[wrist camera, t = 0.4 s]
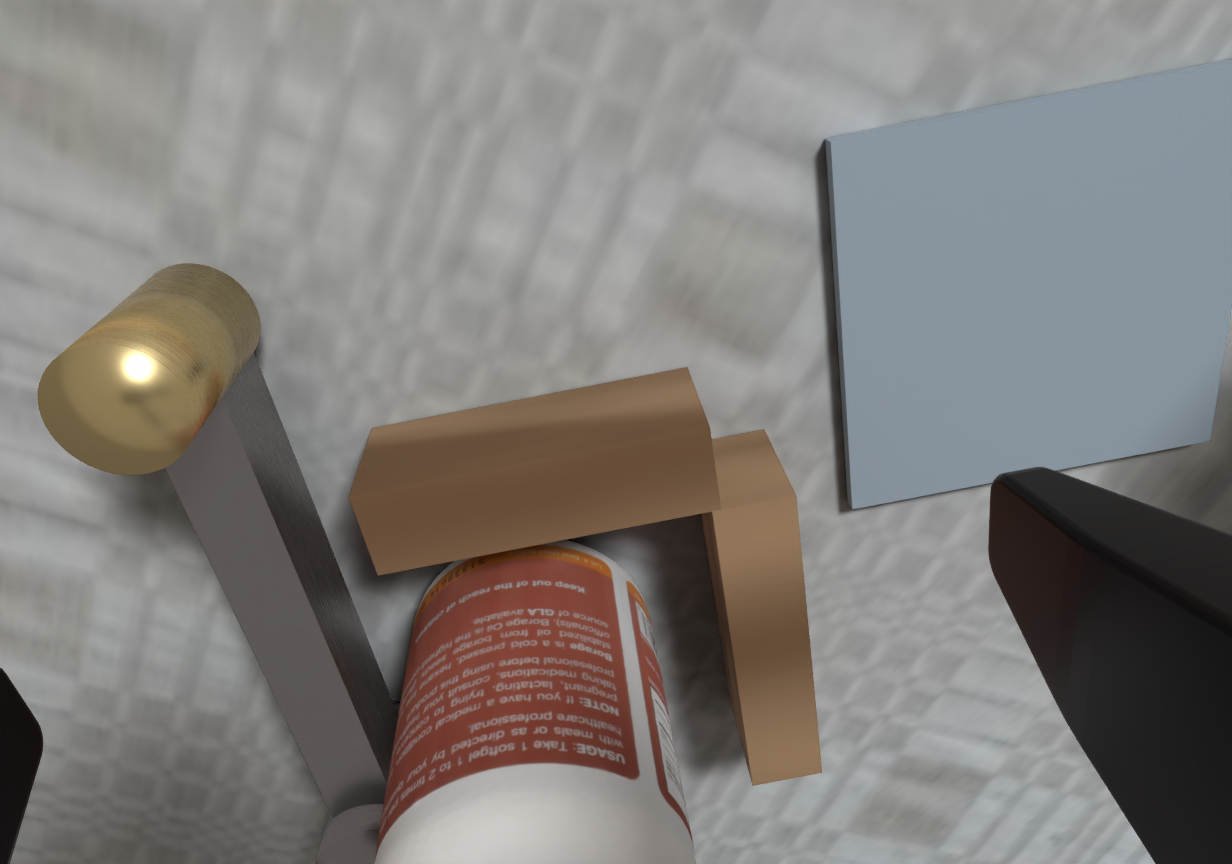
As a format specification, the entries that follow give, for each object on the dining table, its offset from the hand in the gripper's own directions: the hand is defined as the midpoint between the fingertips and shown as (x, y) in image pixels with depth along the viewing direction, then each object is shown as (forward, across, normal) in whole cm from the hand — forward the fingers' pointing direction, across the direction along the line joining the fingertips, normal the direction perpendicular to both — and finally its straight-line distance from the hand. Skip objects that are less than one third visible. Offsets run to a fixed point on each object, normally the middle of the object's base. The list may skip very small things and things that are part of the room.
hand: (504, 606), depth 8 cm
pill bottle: (+13, +2, +10) cm, 16 cm away
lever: (+12, +7, +7) cm, 15 cm away
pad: (+12, -11, +4) cm, 17 cm away
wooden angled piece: (+12, +2, +10) cm, 16 cm away
